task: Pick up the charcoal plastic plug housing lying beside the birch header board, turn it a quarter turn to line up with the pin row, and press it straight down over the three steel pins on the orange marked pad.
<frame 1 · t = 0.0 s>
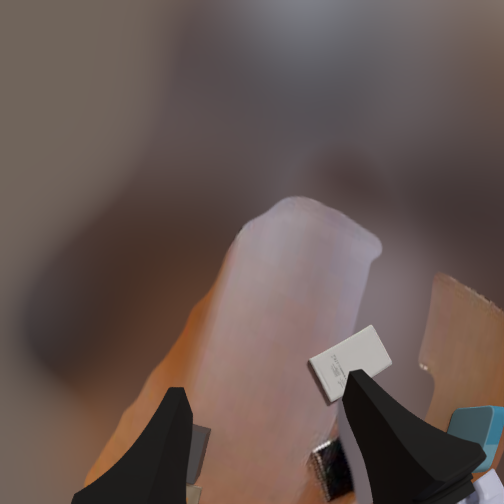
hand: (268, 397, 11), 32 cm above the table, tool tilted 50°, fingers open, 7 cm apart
plug housing: (193, 449, 34), on the table
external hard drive: (350, 363, 42), on the table
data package: (451, 437, 32), on the table
header board: (156, 496, 29), on the table
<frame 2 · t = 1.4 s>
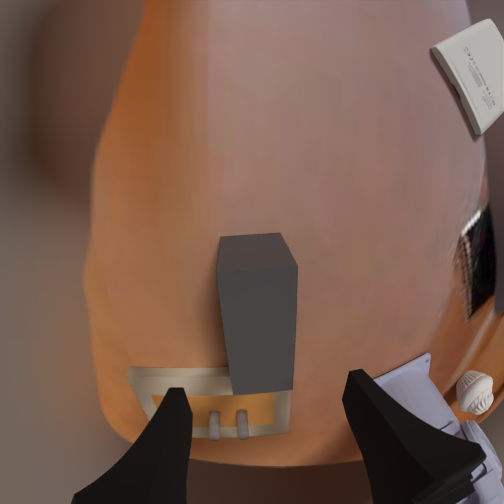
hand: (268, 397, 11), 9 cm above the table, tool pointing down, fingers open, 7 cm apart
plug housing: (253, 295, 19), on the table
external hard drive: (479, 69, 14), on the table
muffin: (463, 377, 27), on the table
header board: (214, 402, 23), on the table
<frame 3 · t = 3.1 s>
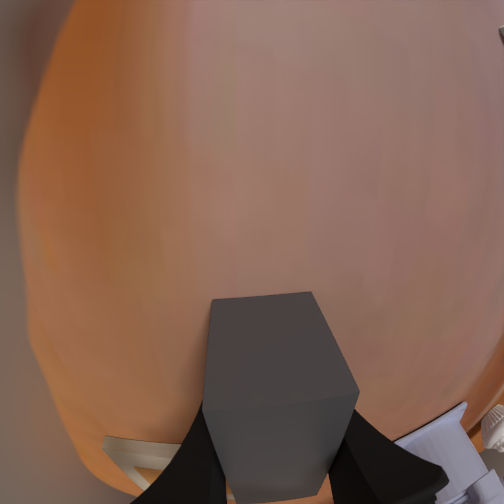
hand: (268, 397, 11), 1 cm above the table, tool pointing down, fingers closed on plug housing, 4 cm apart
plug housing: (265, 375, 12), on the table, touching gripper
muffin: (489, 412, 20), on the table
header board: (212, 471, 16), on the table
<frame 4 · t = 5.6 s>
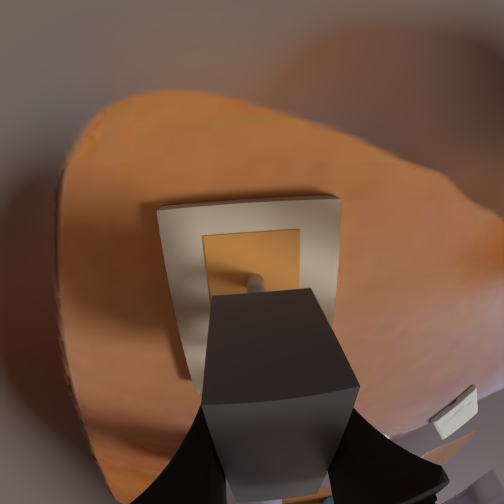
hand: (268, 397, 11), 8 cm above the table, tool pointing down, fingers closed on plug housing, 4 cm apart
plug housing: (264, 372, 12), point 6 cm above the table, touching gripper
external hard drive: (454, 410, 30), on the table
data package: (346, 494, 38), on the table
header board: (255, 306, 18), on the table
when the fingers open (3 cm above the table, at t = 8.0 s): plug housing stays where it is, resting on header board.
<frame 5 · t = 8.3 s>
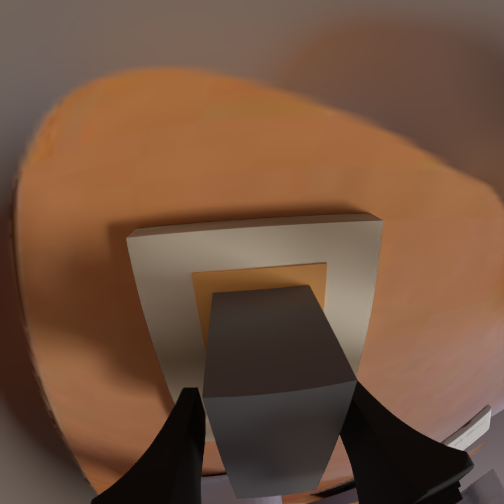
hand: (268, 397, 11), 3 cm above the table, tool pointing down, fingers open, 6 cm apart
plug housing: (264, 369, 12), point 1 cm above the table, touching header board
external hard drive: (466, 429, 25), on the table
header board: (262, 353, 14), on the table
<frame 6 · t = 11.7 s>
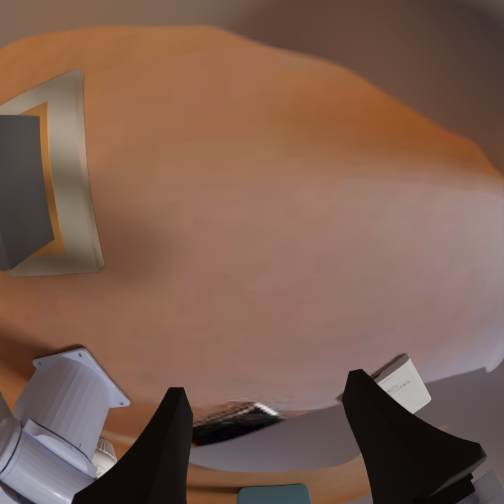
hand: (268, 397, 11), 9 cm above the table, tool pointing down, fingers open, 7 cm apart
plug housing: (26, 183, 14), point 1 cm above the table, touching header board
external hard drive: (389, 393, 27), on the table
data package: (271, 488, 35), on the table
muffin: (102, 440, 27), on the table
header board: (36, 181, 15), on the table
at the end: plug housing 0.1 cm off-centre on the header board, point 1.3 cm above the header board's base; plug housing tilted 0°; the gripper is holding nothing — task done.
